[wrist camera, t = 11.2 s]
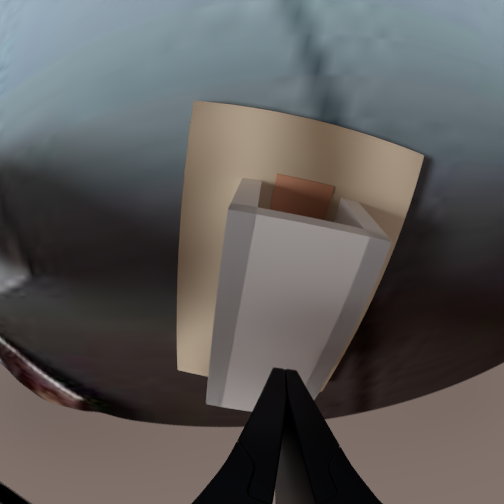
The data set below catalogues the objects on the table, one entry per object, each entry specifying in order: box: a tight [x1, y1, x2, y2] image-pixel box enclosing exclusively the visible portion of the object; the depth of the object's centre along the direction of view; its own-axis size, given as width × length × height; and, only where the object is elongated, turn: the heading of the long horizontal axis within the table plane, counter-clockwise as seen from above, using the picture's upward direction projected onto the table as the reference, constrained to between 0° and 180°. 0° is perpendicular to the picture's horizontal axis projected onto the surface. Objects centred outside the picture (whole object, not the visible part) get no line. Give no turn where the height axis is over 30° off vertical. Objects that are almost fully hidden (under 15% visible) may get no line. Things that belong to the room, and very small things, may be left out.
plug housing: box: [206, 178, 392, 411], centre depth 12 cm, size 5×10×4 cm, turn 171°
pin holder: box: [177, 101, 424, 392], centre depth 13 cm, size 10×16×4 cm, turn 170°
